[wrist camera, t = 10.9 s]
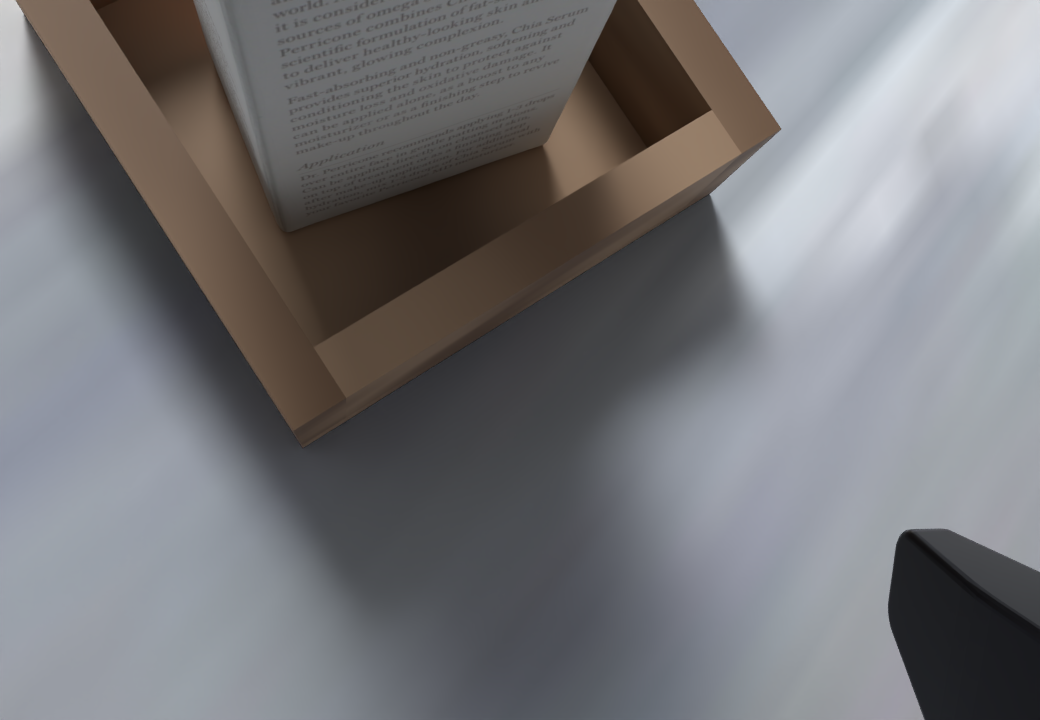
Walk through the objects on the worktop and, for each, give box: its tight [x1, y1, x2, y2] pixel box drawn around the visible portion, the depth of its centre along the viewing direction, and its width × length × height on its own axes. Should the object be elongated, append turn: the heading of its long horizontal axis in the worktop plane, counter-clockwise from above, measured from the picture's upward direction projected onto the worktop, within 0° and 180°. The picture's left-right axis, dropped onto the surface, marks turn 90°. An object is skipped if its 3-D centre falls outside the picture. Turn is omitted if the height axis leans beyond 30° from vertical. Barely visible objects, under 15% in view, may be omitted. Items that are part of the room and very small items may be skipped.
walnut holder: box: [16, 0, 781, 448], centre depth 18 cm, size 11×11×4 cm
